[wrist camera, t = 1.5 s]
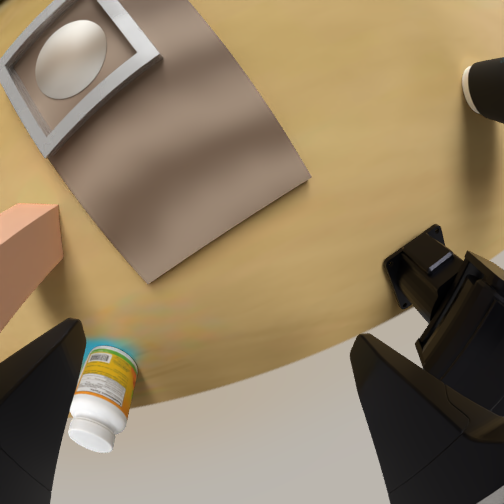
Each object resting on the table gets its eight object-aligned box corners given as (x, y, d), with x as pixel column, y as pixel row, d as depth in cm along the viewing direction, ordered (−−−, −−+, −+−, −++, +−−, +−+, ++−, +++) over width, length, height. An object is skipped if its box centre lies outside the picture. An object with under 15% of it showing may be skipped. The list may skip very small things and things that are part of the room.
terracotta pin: (58, 204, 18) (-35, 273, 8) (63, 257, 20) (-9, 344, 10) (18, 203, 18) (-72, 263, 8) (24, 252, 19) (-49, 327, 10)
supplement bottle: (123, 386, 27) (106, 461, 18) (82, 360, 25) (53, 434, 16) (148, 364, 26) (131, 449, 17) (102, 335, 24) (70, 417, 15)
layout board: (307, 174, 19) (317, 180, 17) (150, 277, 22) (144, 293, 20) (141, -46, 11) (135, -59, 9) (5, 74, 13) (-11, 72, 11)
